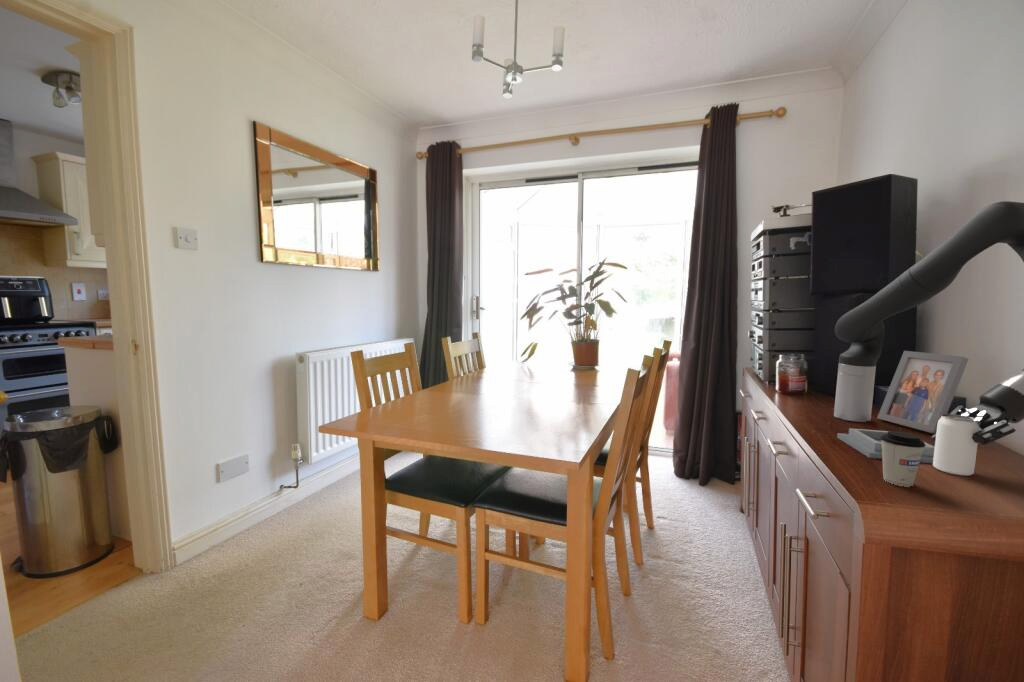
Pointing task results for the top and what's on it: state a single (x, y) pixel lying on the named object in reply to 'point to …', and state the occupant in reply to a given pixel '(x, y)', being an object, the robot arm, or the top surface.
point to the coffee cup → (901, 457)
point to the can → (955, 445)
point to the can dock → (876, 443)
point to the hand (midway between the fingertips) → (942, 445)
